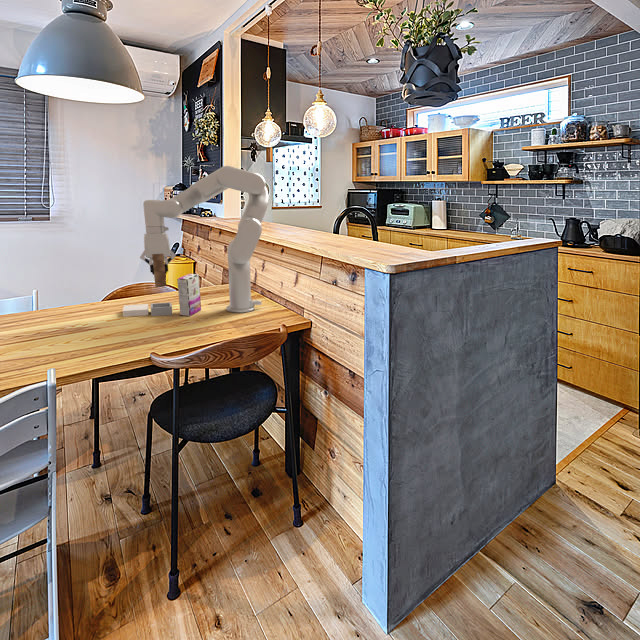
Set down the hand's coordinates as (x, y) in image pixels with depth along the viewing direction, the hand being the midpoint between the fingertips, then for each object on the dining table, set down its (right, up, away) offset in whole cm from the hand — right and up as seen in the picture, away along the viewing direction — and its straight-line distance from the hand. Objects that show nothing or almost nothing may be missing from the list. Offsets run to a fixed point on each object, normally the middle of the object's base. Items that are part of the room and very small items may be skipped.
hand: (159, 273), depth 199 cm
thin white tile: (-12, -17, +4) cm, 21 cm away
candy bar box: (+12, -17, +6) cm, 21 cm away
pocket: (-1, -17, +5) cm, 18 cm away
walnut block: (0, -5, +2) cm, 5 cm away
